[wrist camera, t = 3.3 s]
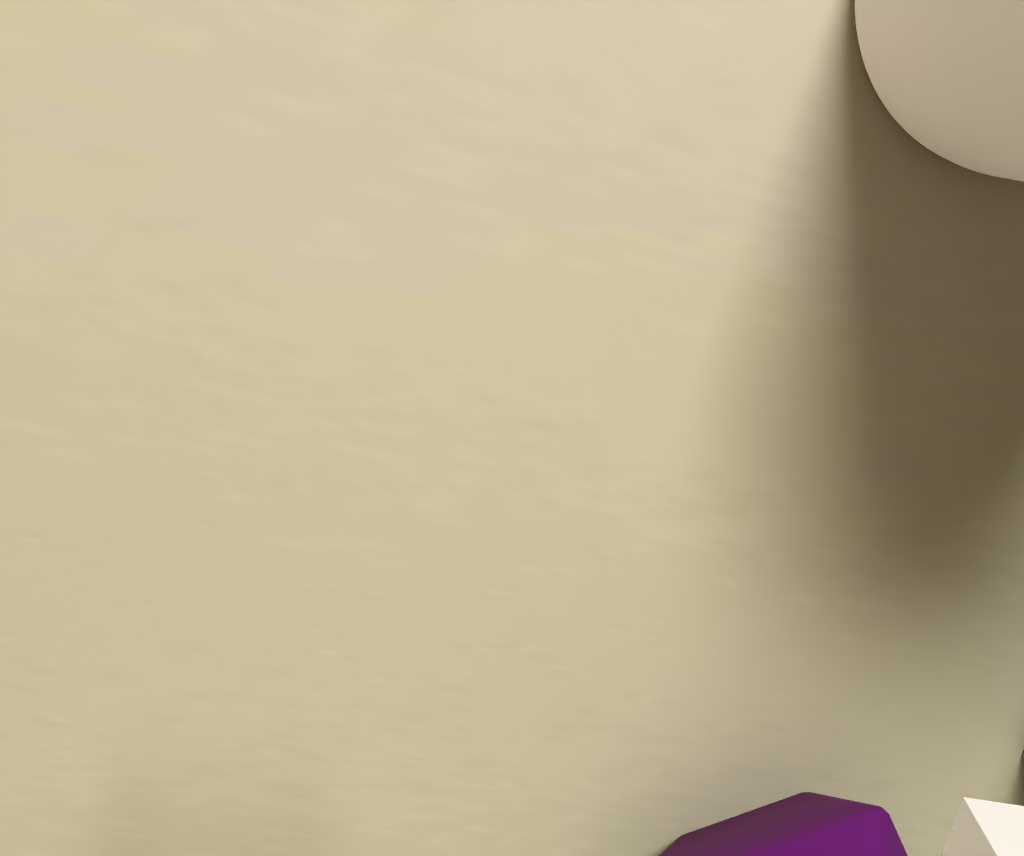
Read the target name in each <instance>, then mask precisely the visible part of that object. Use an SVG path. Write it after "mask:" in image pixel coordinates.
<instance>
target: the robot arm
mask: <svg viewBox="0 0 1024 856" xmlns="http://www.w3.org/2000/svg"><path fill="white" fill-rule="evenodd" d="M941 856H1024V806H1020V805H1013V804H1006V803H999V802H993V801H986V800H979V799H973V798H966V797H963V799H962V802H961V805H960V807H959V810H958V812H957V815H956V818H955V820H954V823H953V826H952V828H951V831H950V834H949V836H948V839H947V842H946V844H945V847H944V849H943V852H942V855H941Z"/></svg>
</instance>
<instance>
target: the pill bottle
mask: <svg viewBox="0 0 1024 856" xmlns="http://www.w3.org/2000/svg"><path fill="white" fill-rule="evenodd" d="M855 20H856V30H857V37H858V42H859V47H860V51H861V55H862V59H863V62H864V65H865V68H866V71H867V73H868V76H869V78H870V80H871V83H872V85H873V87H874V89H875V91H876V93H877V94H878V96H879V98H880V99H881V101H882V103H883V104H884V106H885V107H886V109H887V110H888V111H889V113H890V114H891V115H892V117H893V118H894V119H895V120H896V121H897V122H898V124H899V125H900V126H901V127H902V128H903V129H904V130H905V131H906V132H907V133H908V134H910V135H911V136H912V137H913V138H914V139H915V140H917V141H918V142H919V143H920V144H922V145H923V146H925V147H926V148H928V149H929V150H931V151H932V152H934V153H936V154H937V155H939V156H941V157H943V158H945V159H947V160H949V161H951V162H953V163H955V164H957V165H960V166H962V167H964V168H967V169H970V170H973V171H976V172H979V173H982V174H986V175H990V176H995V177H1001V178H1006V179H1011V180H1017V181H1022V182H1024V0H855Z"/></svg>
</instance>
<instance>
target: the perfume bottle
mask: <svg viewBox="0 0 1024 856" xmlns="http://www.w3.org/2000/svg"><path fill="white" fill-rule="evenodd" d="M660 856H907V854H906V851H905V849H904V847H903V845H902V842H901V840H900V838H899V836H898V833H897V831H896V829H895V827H894V824H893V822H892V820H891V818H890V815H889V814H888V813H887V812H886V811H885V810H884V809H883V808H882V807H880V806H875V805H870V804H865V803H860V802H855V801H850V800H845V799H840V798H836V797H831V796H826V795H821V794H816V793H811V792H804V793H800V794H797V795H794V796H792V797H789V798H786V799H783V800H780V801H778V802H775V803H772V804H769V805H766V806H764V807H761V808H758V809H755V810H752V811H750V812H747V813H744V814H741V815H738V816H735V817H733V818H730V819H727V820H724V821H721V822H719V823H716V824H713V825H710V826H707V827H705V828H702V829H699V830H696V831H693V832H691V833H688V834H685V835H682V836H681V837H679V838H678V839H677V840H676V841H675V842H674V843H673V844H672V845H670V846H669V847H668V848H667V849H666V850H665V851H664V852H663V853H662V854H661V855H660Z"/></svg>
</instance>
